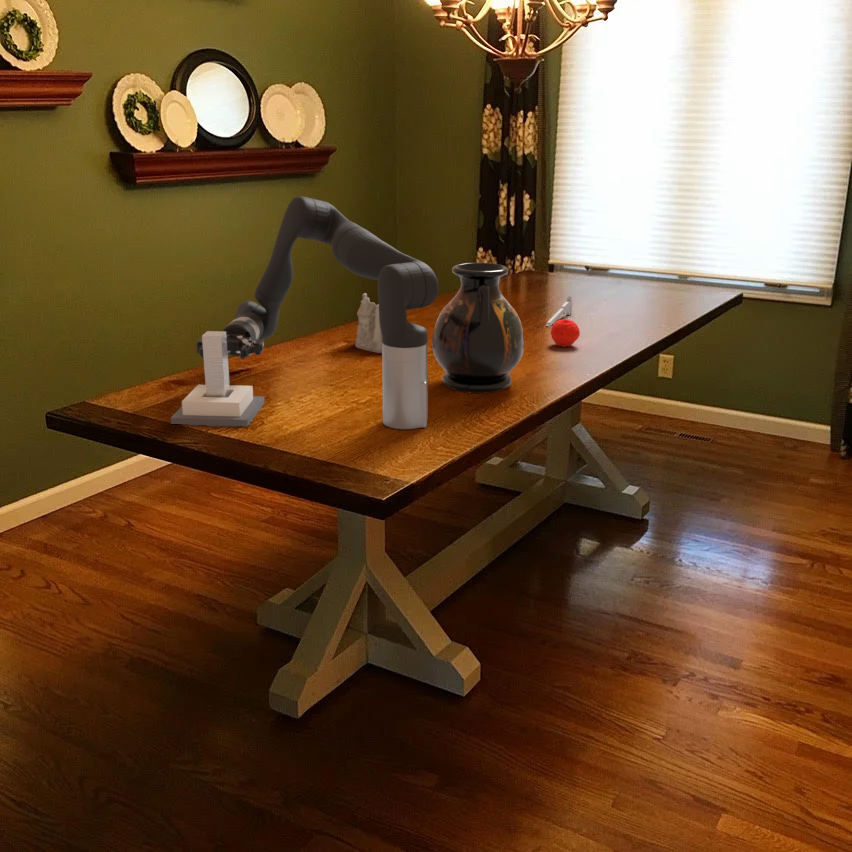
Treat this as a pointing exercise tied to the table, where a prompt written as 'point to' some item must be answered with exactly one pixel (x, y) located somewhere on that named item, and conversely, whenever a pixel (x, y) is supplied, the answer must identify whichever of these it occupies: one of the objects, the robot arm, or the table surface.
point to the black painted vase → (478, 332)
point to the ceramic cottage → (369, 326)
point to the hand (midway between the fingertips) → (222, 354)
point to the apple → (565, 332)
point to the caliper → (562, 311)
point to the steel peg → (216, 364)
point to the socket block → (219, 408)
